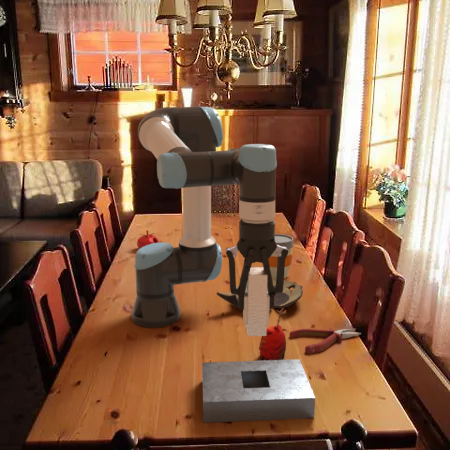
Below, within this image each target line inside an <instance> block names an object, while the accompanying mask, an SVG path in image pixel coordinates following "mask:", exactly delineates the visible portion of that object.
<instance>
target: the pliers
mask: <svg viewBox="0 0 450 450" xmlns="http://www.w3.org/2000/svg"><path fill="white" fill-rule="evenodd" d="M356 329H357V328H347V329H346V328H345V329H338V330H334V329H333V328H332V327H330V328H329V330H328V329H319V328H316V329H314V328H299V329H295V330H291V331H290V332H289V338H290V339H293V338H298V337H317V338H318V337H319V338H320V337H321V338H325V339H324V340H322V341H321V342H318V343H313V344H312V343H311V344H308V345H306V346H305V347H304V353H306V354H309V355H311V354H315V353H316V354H317V353H321V352H323V351H325V350H327V349H328V348H330V347H331V346H332V345H333V344H335V343H336V342H338V343H342V342H343V339H349V338H352V337H356V336H360V335H362V333H361V332H356Z"/></svg>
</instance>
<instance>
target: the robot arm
mask: <svg viewBox="0 0 450 450" xmlns="http://www.w3.org/2000/svg"><path fill="white" fill-rule="evenodd" d="M137 137H138V141H139V142H140V144H141V146H142V147H143V148H144V149H145V150H147V151H149V152H150V153H152V155H154V157H155V159H156V161H157V162H156V172H157V173H156V175H157V180H158V183H159V185H160V186H161V188H164V189H176V190H178V189H182V219H183V220H182V224H183V225H182V227H183V229H182V230H183V233H182V235H183V236H181V237H180V238H179V240H178V246H175V247H173V245H172V244H171V243H169V242H159V243H153V244H149V245H146V246H144V247H142V248H140V249H139V248H138V250H137V251H136V252H135V255H134V265H133V266H134V271H135V285H136V287H135V289H136V295H135V296H136V298H135V300H134V304H133V307H132V310H131V311H132V312H131V320H132V322H133V323H134V324H135V325H137V326H139V327H144V328H151V329H152V328H154V329H155V328H163V327H168V326H171V325H173V324H175V323H177V322H178V321H179V320H180V318H181V308H180V305H179V302H178V300H177V297H176V295H175V286H176V285H185V284H193V283H195V284H196V283H204V282H205V283H206V282H207V281H209V282H210V281H213V280H216V279H217V278H218V276H219V275H220V274H221V270H222V265H223V255H222V253H223V252H222V248H221V246H220V244H218V243H217V242H216V241H217V240H216V238H214V236H213V235H212V187H213V186H229V185H238V187H239V188H238V189H239V190H238V192H239V194H238V195H239V197H238V200H239V201H238V202H239V203H238V204H239V205H238V212H239V213H238V218H239V219H240V220H239V222H238V224H239V225H238V228H239V229H238V235H239V236H238V240H237V243H236V245H235V246H233V247H229V246H228V247H226V248H225V254H226V257H227V259H228V276H229V290H230V291H231V293H232V294H237V295H238V306H239V307H238V309H239V310H240V311H241V310H243V311H242V321H243V325H244V326H246V325H248V296H247V292H245V290H246V286H247V281H248V273H249V272H250V268H252V264H255V263H260V264H262V267H263V269H264V271H265V273H267V288H268V292H267V325H270V310H273V309H275V308H274V296H275V294H276V293H281V292H283V285H284V280H285V278H284V269H285V259H286V257H287V255H288V250H287V248H286V247H285V246H282V247H281V246H279V245H277V244H276V242H275V234H276V233H275V232H276V221H275V218H276V188H277V187H276V186H277V185H276V184H277V183H276V182H277V167H278V166H277V165H278V161H277V149H276V148H275V146H274V145H272V144H265V143H250V144H249V143H248V144H243V145H242V146H241V147H240V148H229V149H227V150H217V148H219V147H221V146H222V145H223V140H224V131H223V125H222V121H221V117H220V115H219V113H218V111H217V110H216V109H215V108H213V107H210V106H209V107H207V106H182V107H180V106H179V107H175V106H174V107H173V106H171V107H169V106H167V107H160V108H156V109H154V110H152V111H150V112H148V113H147V114H146V115H144V117H143V118H142V119H141V120H140V121H139V124H138V126H137ZM275 250H276V254H277V256H278V259H277V275H276V285H275V286H273V281H272V276H271V271H270V265H269V260H268V259H269V258H270V256H271V255H272V254H273V252H274V251H275ZM238 252H239V253H240V254H241V256H242V257H243V258H244V259H243V264H242V265H243V266H242V270H241V275H240V277H239V278H240V279H239V283H238V286H237V279H236V278H237V277H236V276H237V275H236V274H237V273H236V261H235V260H236V259H235V258H237V256H238ZM230 291H229V292H230ZM269 309H270V310H269Z"/></svg>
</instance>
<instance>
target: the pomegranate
mask: <svg viewBox="0 0 450 450" xmlns="http://www.w3.org/2000/svg"><path fill="white" fill-rule="evenodd" d="M145 232H146V233H145V234H142V233H140V234H139V236H140V237H139V238H138V239H137V242H136V245H137V248H138V250H139V249H140V248H142V247H144V246H146V245H149V244H153V243H160V241H159V239H158V237H157V236H155V235H156V234H155V233H149V230H145Z"/></svg>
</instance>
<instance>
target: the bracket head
mask: <svg viewBox="0 0 450 450" xmlns="http://www.w3.org/2000/svg"><path fill="white" fill-rule="evenodd" d="M201 369H202V371H201V373H202V374H201V375H202V376H201V377H202V378H201V379H202V410H203V411H202V414H203V419H202V420H203V424H204V423H222V422H223V423H225V422H226V423H227V422H249V421H250V422H251V421H252V422H253V421H272V420H273V421H275V420H277V421H278V420H297V419H298V420H299V419H315V411H316V410H315V409H316V396H315V393H314V392H313V388H312V387H311V384H310V381H309V379H308V377H307V374H306V371H305V369H304V366H303V364H302V362H301V359H300V358H299V359H283V360H265V359H264V360H243V361H241V360H240V361H239V360H238V361H217V362H216V361H215V362H214V361H212V362H211V361H210V362H201Z"/></svg>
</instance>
